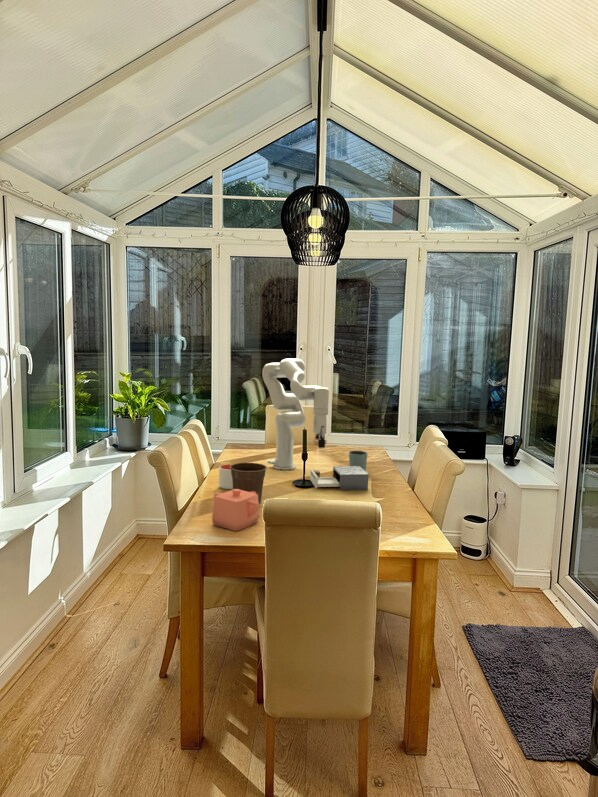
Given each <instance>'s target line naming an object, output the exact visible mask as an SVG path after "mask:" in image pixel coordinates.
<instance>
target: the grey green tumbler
mask: <svg viewBox="0 0 598 797" xmlns="http://www.w3.org/2000/svg"><path fill="white" fill-rule="evenodd" d="M348 461H349V462H348V463H349V465H348V466H360V467H361V468H362V469H363V470H364V471H366V472H367V464H368V463H367V461H368V451H363V450H350V451H348Z"/></svg>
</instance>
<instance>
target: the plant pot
mask: <svg viewBox="0 0 598 797" xmlns="http://www.w3.org/2000/svg"><path fill="white" fill-rule="evenodd" d="M230 465H231V466H230V469H231V476H232V481H233V489H240V490H243V491H247V492H251V491H254V492H256V494H258V503H259V505H260V504H261V502H262V495H263V487H264V480H265V477H266V471H267V469H268V467H267V465H265V464H261V463H257V462H237V463H232V464H230ZM233 489H232V490H233Z"/></svg>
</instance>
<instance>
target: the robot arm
mask: <svg viewBox="0 0 598 797" xmlns="http://www.w3.org/2000/svg"><path fill="white" fill-rule="evenodd" d="M305 369H306V366H305V362H304V361H303V360H302V359H301V358H284V359H282V360H281V361H279V362H270V363H266V364H265V365H264V366H263V368H262V373H261V374H262V380H263V382H264V384H265V386H266V387H267V390H268V394H269V397H270V399H271V402H272V403H271V404H272V406H273V408H274V409H275V411H280V412H278V413H277V414H276V415H275V419H274V420H275V426H276V445H275V446H276V447H275V458H274V459H267V461H266V462H267V464H270V465H272V468H274V469H276V470H280V469H282V470H283V471H285V470H286V471H287V470H288V471H289V469H290V470H293V469H296V464H294V441H295V440H294V437H295V436H294V433H293V431H292V429H294V428H301V427H304V425H305V424H306V420H307V418H306V414H305V411H304V408H303V405H302V402H303V401H313V410H312V411H313V416H314V417H313V426H312V427H313V430H312V431H313V433H315V437H314V439H319V441H318V445H316V444H314V445H316V446H318V449H319V448H320V449H324V448H325V446H326V444H325V439H326V434H327V416H329V403H330V402H329V400H330V398H329V397H330V389H329V388H328V387H324V386H320V385H302V383H303V381H304V380H305V377H306V375H305V374H306V373H305ZM278 378H279V379H280V378H287V379H288V381H290V385H289V386H290V390H291V393H290V392H289V393H288V392H287V393H286V392H285V391H286V390H285V388H284V385H283V384H282V383H281V382H280V380H278ZM301 401H302V402H301Z"/></svg>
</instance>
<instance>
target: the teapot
mask: <svg viewBox="0 0 598 797" xmlns="http://www.w3.org/2000/svg"><path fill="white" fill-rule="evenodd" d="M213 497H214V499H213V506H212V507H213V508H212V514H211V515H212V516H211V517H212V519H211V520H212V524H213V526H217V527H219V528H224V529H226V530H227V529H228V530H230V531H234V532H238V531H240V530H244V529H246V528H248V527H249V526H252V525H254V524H256V523H257V522H258V521H259V517H260V504H259V503H258V494H256V492H254V491H251V492H247V491H243V490H240V489H230V490H228V491H225V492H216V493H214V494H213Z"/></svg>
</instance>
